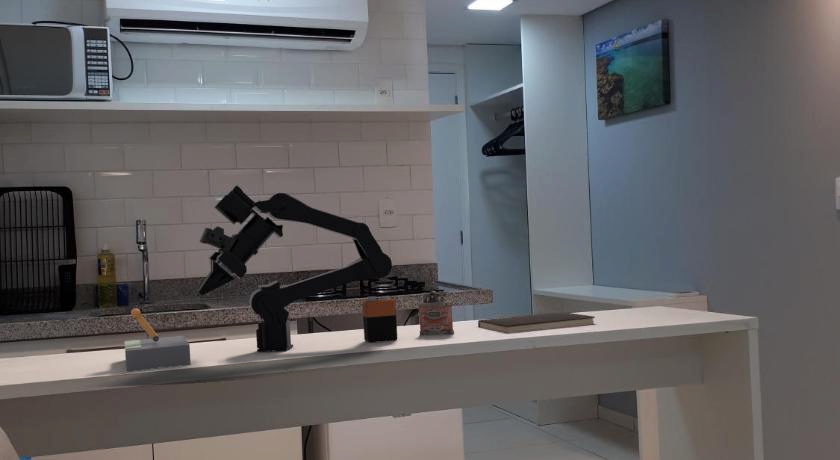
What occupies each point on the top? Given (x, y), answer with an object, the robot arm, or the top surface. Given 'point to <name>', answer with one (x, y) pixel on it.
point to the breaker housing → (156, 353)
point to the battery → (379, 319)
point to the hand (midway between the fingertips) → (199, 294)
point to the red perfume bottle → (435, 314)
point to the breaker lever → (144, 324)
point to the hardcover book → (535, 322)
